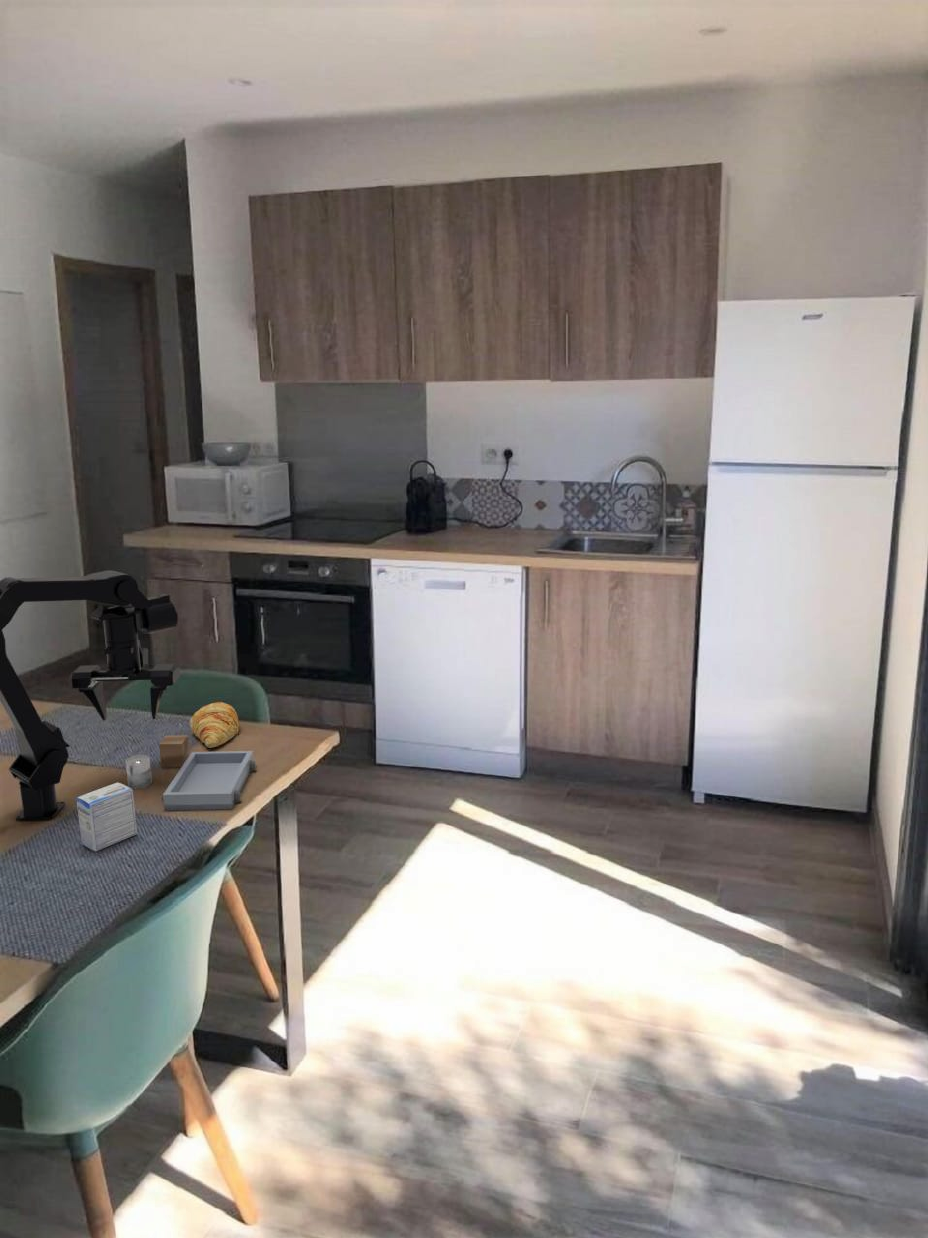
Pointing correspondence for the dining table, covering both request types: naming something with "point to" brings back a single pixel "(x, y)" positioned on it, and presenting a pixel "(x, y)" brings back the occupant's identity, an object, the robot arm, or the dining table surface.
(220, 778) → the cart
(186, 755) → the walnut block
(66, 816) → the dining table surface
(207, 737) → the croissant
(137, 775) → the cylinder
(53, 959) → the dining table surface
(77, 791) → the dining table surface
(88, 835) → the medicine box
